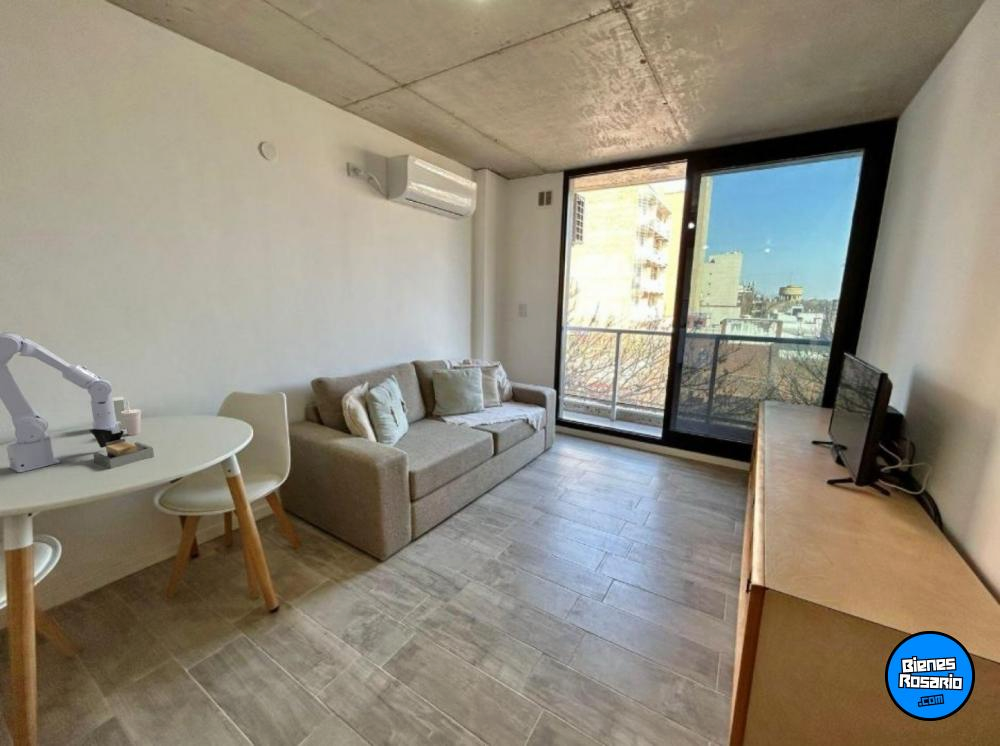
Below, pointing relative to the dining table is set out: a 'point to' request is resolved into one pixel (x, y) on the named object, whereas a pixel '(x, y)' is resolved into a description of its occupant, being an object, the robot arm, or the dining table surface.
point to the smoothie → (132, 420)
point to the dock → (125, 457)
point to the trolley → (119, 448)
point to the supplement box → (119, 410)
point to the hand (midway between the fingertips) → (109, 448)
